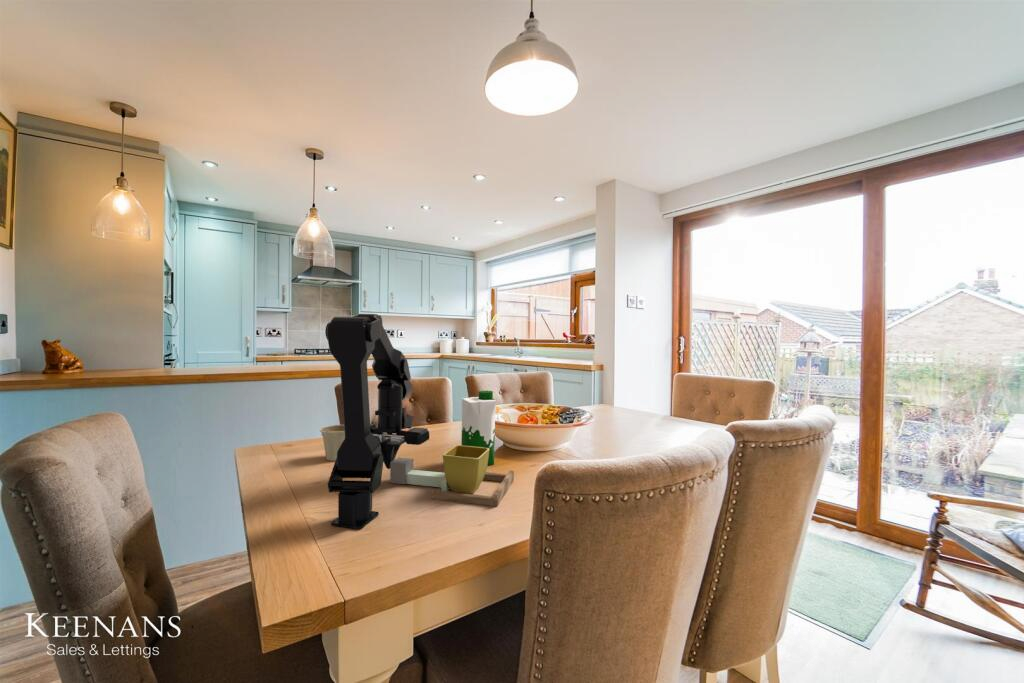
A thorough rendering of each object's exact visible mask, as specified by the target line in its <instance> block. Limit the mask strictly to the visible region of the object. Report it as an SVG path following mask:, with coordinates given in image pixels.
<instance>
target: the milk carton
mask: <svg viewBox="0 0 1024 683" xmlns="http://www.w3.org/2000/svg"><path fill="white" fill-rule="evenodd" d="M497 403H498V401H497V400H496V399H494V392H493V391H492V390H478V396H471V397H461V445H462V446H473V447H483V448H489V449H490V450H489V457H488V464H487V466H491V465H495V447H496V446H495V444H496V443H495V441H496V440H495V439H496V438H495V437H496V435H495V434H496V433H495V432H496V431H495V430H496V424H495V423H496V410H497V409H496V408H497Z"/></svg>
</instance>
